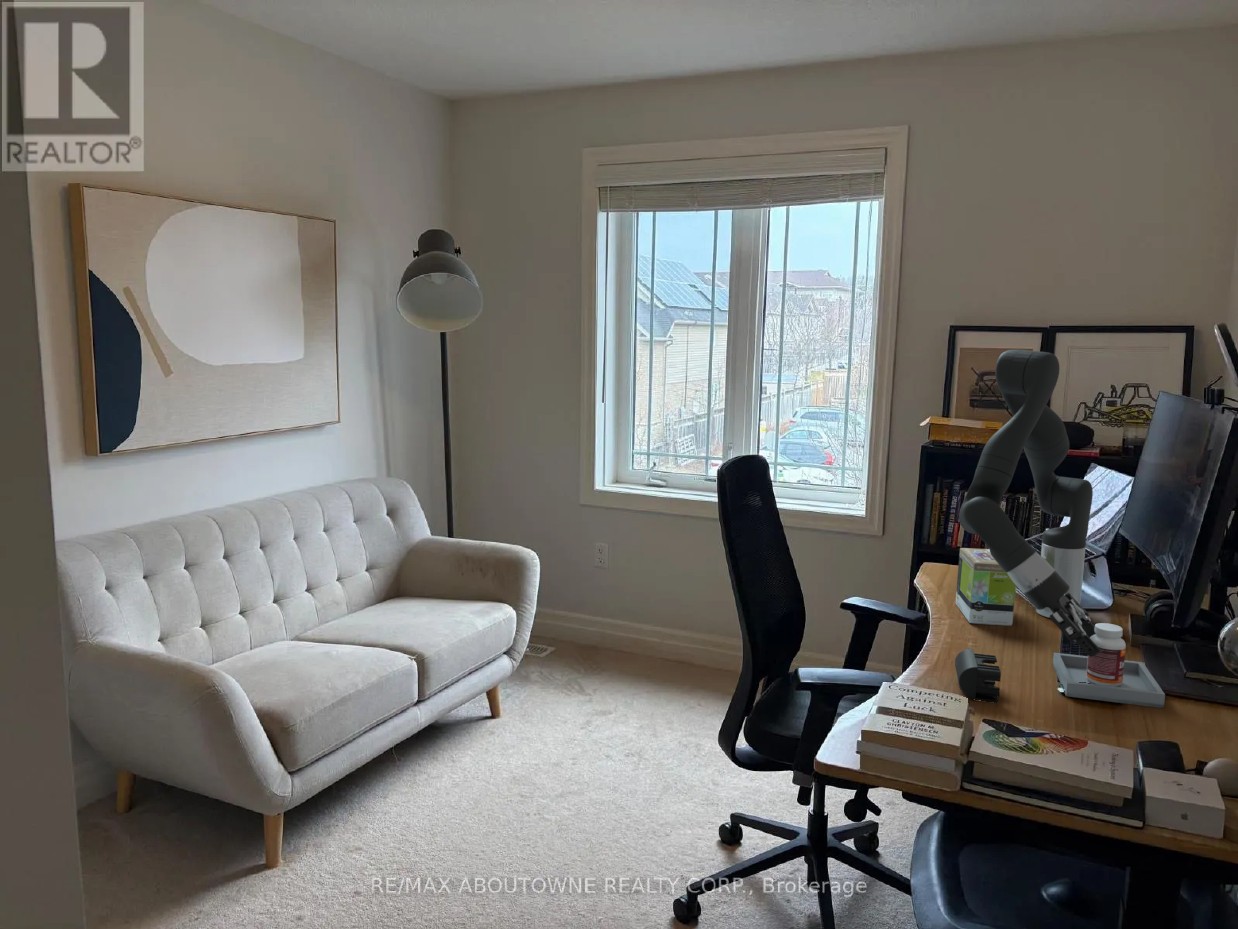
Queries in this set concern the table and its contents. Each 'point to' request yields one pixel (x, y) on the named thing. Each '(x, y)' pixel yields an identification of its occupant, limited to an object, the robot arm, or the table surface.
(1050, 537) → the robot arm
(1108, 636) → the pill bottle
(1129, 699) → the tray
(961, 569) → the tea box
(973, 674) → the end cap
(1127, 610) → the table surface
